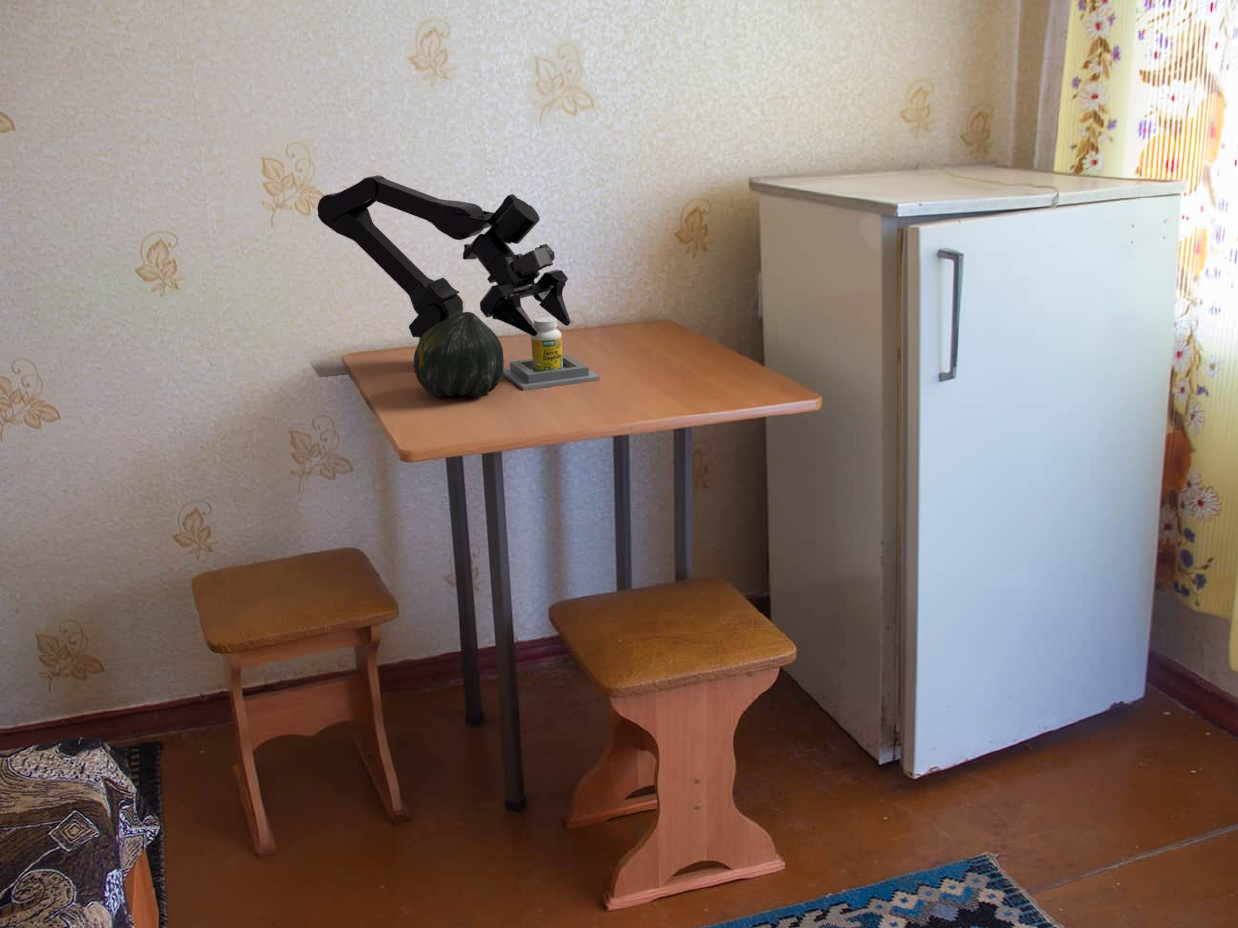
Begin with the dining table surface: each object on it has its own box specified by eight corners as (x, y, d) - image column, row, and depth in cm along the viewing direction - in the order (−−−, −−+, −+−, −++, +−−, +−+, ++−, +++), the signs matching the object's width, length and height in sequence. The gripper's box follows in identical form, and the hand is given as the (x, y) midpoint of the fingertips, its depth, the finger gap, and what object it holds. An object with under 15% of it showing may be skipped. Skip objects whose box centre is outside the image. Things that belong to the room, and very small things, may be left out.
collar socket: (500, 372, 210) (499, 361, 210) (573, 362, 215) (572, 351, 214) (523, 390, 198) (522, 378, 197) (600, 379, 203) (599, 368, 202)
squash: (404, 355, 202) (413, 300, 190) (487, 348, 207) (501, 295, 195) (420, 423, 195) (430, 371, 183) (506, 414, 201) (521, 363, 188)
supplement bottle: (553, 367, 210) (551, 314, 207) (569, 373, 206) (566, 319, 203) (527, 372, 207) (524, 319, 204) (542, 378, 203) (540, 323, 200)
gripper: (487, 238, 193) (543, 309, 191) (556, 224, 208) (609, 290, 205) (456, 282, 200) (509, 351, 198) (525, 265, 215) (575, 330, 212)
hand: (552, 329), depth 203 cm, fingers open, 9 cm apart
